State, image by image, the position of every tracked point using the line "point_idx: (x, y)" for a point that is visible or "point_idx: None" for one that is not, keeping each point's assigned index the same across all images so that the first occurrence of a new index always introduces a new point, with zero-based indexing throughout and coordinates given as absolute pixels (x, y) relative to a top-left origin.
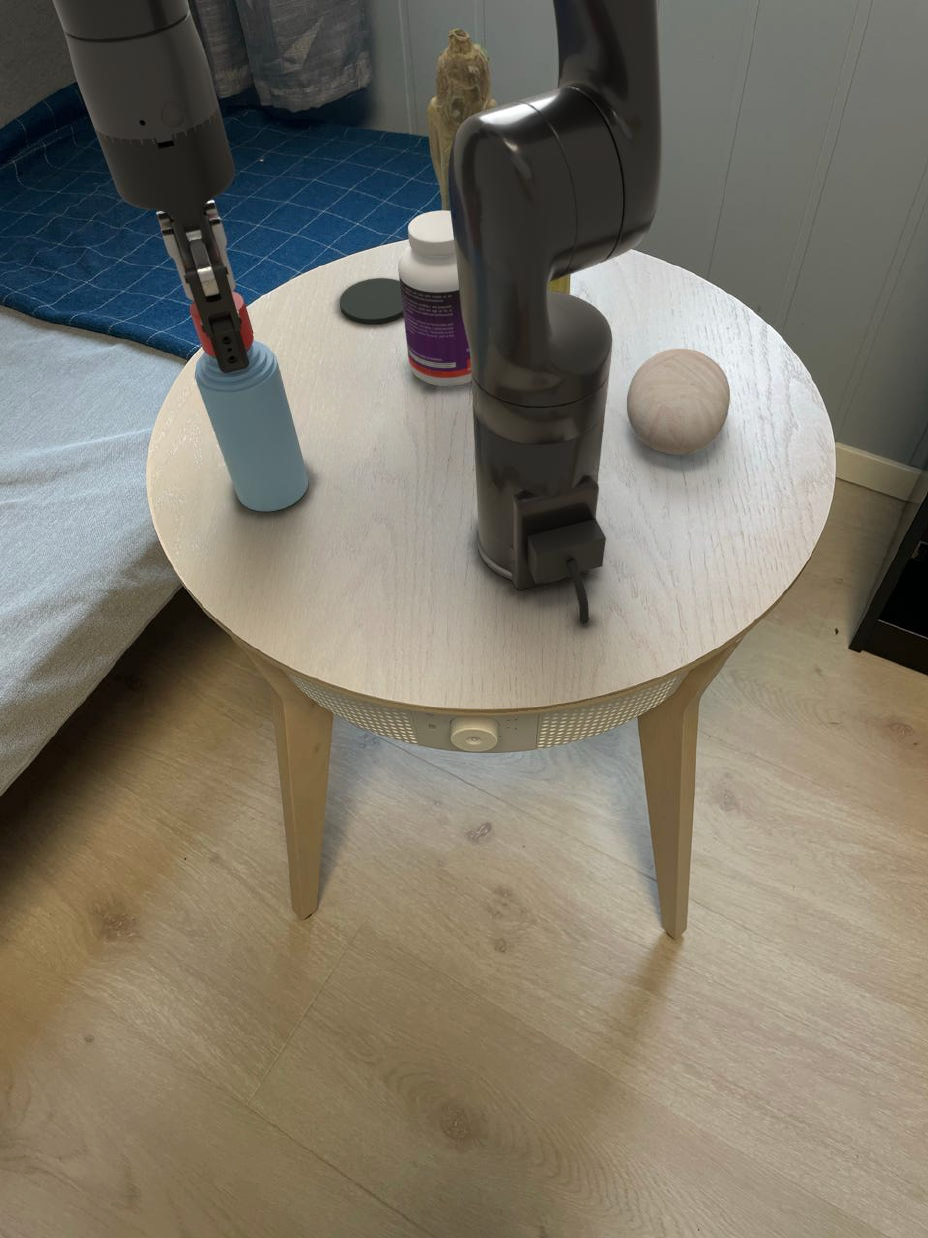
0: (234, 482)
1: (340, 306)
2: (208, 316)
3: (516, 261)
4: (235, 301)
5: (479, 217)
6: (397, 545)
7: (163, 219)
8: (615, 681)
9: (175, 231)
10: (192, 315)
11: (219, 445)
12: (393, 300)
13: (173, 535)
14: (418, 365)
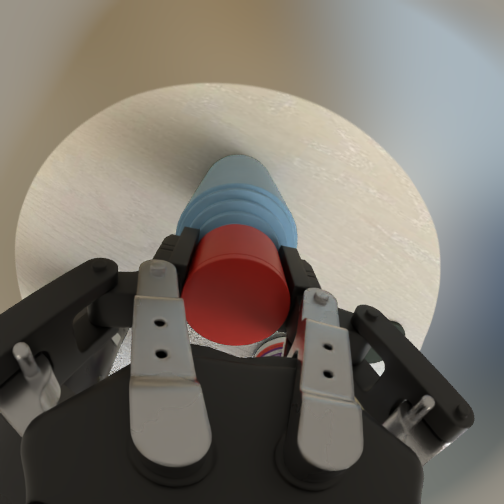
0: (231, 158)
1: (396, 323)
2: (112, 293)
3: None
4: (225, 334)
5: None
6: (123, 245)
7: (298, 464)
8: (20, 287)
9: (33, 474)
10: (228, 257)
11: (238, 164)
12: (369, 352)
13: (231, 87)
14: (280, 346)
